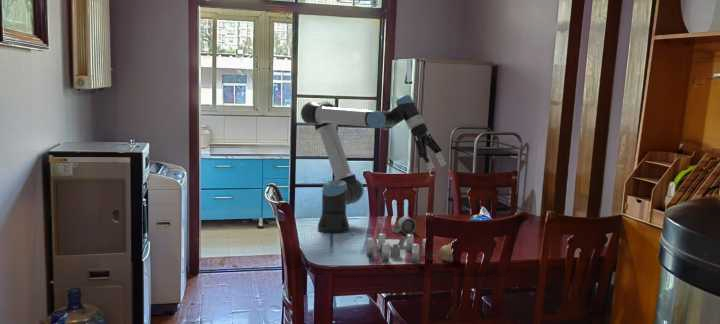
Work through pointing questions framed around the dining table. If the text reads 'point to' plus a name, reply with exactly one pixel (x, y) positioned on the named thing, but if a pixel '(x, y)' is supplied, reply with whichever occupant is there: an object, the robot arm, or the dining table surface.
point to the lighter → (397, 248)
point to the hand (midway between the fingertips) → (438, 167)
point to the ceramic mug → (405, 225)
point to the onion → (446, 253)
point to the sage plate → (393, 242)
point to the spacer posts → (386, 246)
